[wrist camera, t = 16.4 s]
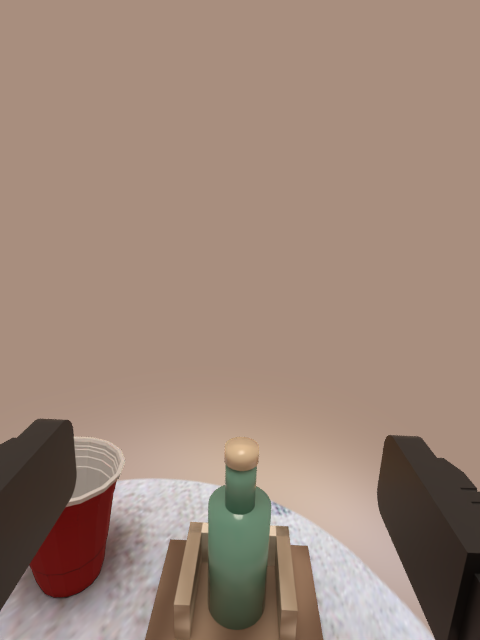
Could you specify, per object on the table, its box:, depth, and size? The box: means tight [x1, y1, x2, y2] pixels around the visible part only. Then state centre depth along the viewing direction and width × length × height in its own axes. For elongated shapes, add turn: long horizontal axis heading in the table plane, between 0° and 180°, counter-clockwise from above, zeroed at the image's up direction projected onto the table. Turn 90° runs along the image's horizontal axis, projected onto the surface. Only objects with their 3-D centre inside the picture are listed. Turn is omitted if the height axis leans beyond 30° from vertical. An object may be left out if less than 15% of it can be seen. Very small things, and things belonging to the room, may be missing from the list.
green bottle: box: [208, 437, 271, 630], centre depth 32 cm, size 5×5×15 cm
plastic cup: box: [29, 437, 125, 598], centre depth 36 cm, size 11×11×12 cm
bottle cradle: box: [145, 522, 323, 640], centre depth 34 cm, size 14×12×5 cm
